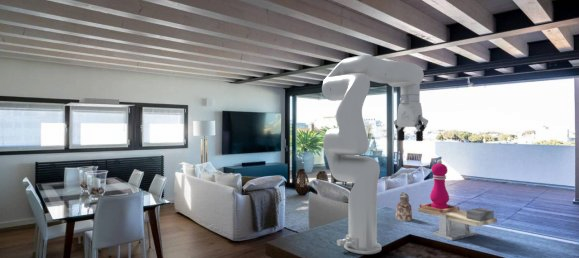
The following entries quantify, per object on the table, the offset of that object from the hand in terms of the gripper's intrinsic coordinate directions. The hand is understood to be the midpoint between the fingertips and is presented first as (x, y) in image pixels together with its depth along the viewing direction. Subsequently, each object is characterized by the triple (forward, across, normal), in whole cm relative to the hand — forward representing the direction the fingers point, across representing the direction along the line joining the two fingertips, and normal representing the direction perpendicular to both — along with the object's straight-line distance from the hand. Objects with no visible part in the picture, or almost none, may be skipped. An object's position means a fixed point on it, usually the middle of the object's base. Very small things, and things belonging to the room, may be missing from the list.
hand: (410, 140), depth 139 cm
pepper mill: (+28, +7, +9) cm, 30 cm away
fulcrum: (+36, +15, +8) cm, 40 cm away
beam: (+29, +15, +8) cm, 34 cm away
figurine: (+36, -11, +8) cm, 39 cm away
